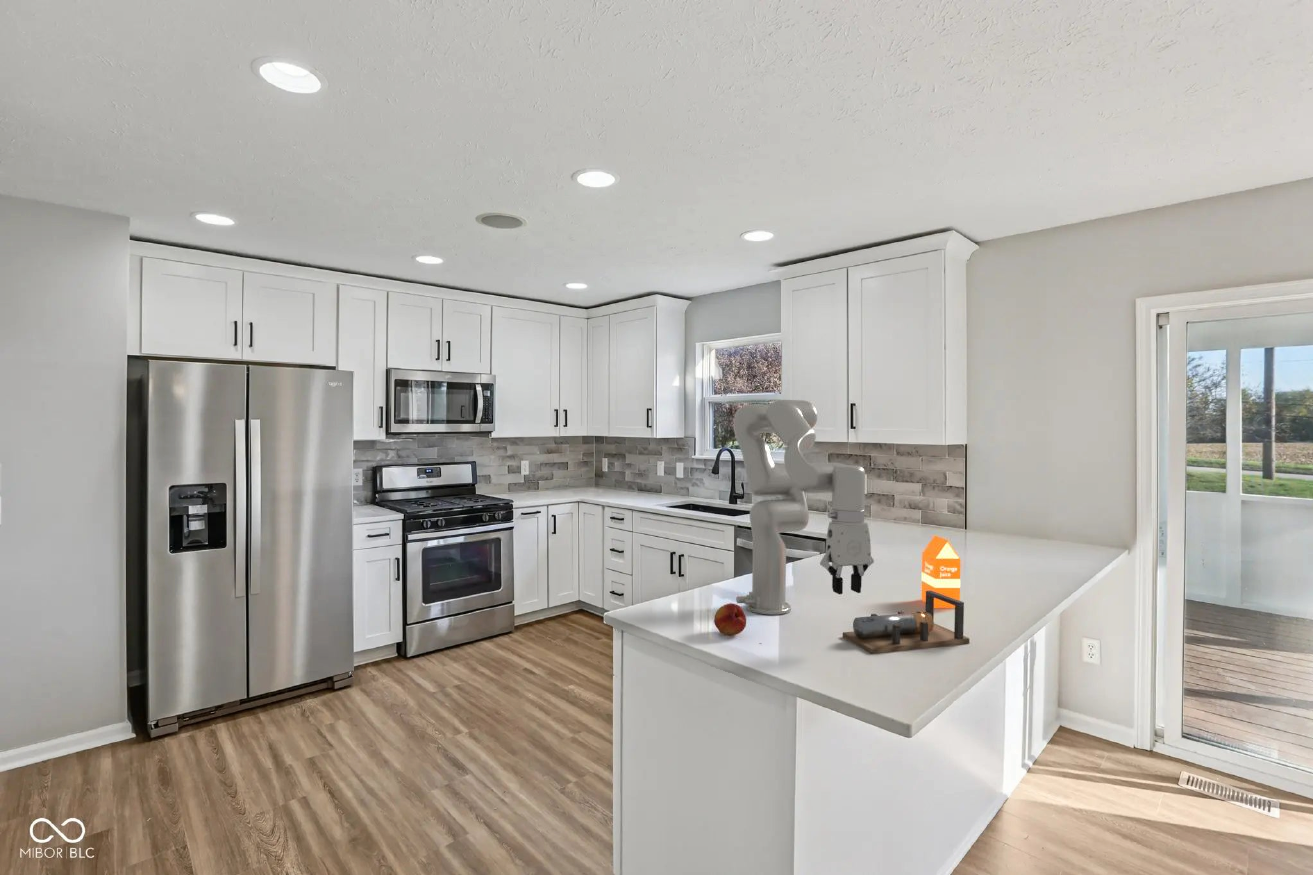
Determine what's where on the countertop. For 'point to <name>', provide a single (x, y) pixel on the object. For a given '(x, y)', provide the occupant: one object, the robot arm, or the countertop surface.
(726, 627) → the fruit
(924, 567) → the orange juice
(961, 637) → the board
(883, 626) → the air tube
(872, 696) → the countertop surface
